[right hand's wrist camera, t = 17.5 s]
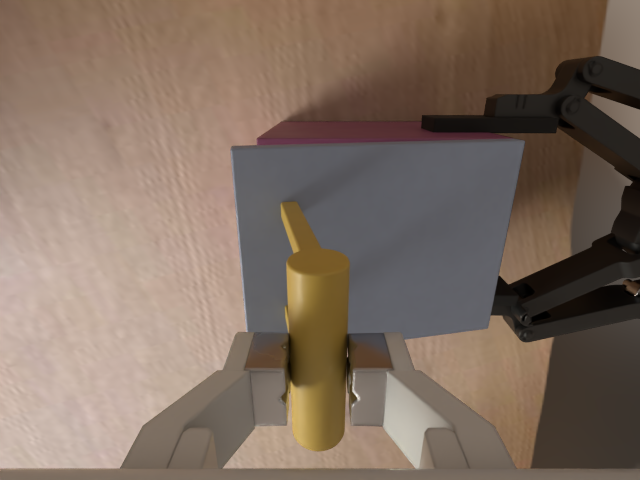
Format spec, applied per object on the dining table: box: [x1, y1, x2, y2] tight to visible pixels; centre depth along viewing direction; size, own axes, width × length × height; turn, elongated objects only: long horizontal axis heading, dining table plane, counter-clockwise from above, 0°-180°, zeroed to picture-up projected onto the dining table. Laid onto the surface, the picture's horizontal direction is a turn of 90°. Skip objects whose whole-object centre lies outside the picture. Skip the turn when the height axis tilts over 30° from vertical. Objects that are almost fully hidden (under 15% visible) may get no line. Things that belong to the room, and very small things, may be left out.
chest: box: [257, 122, 513, 145], centre depth 24 cm, size 12×10×11 cm
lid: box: [231, 139, 525, 451], centre depth 14 cm, size 13×10×8 cm
